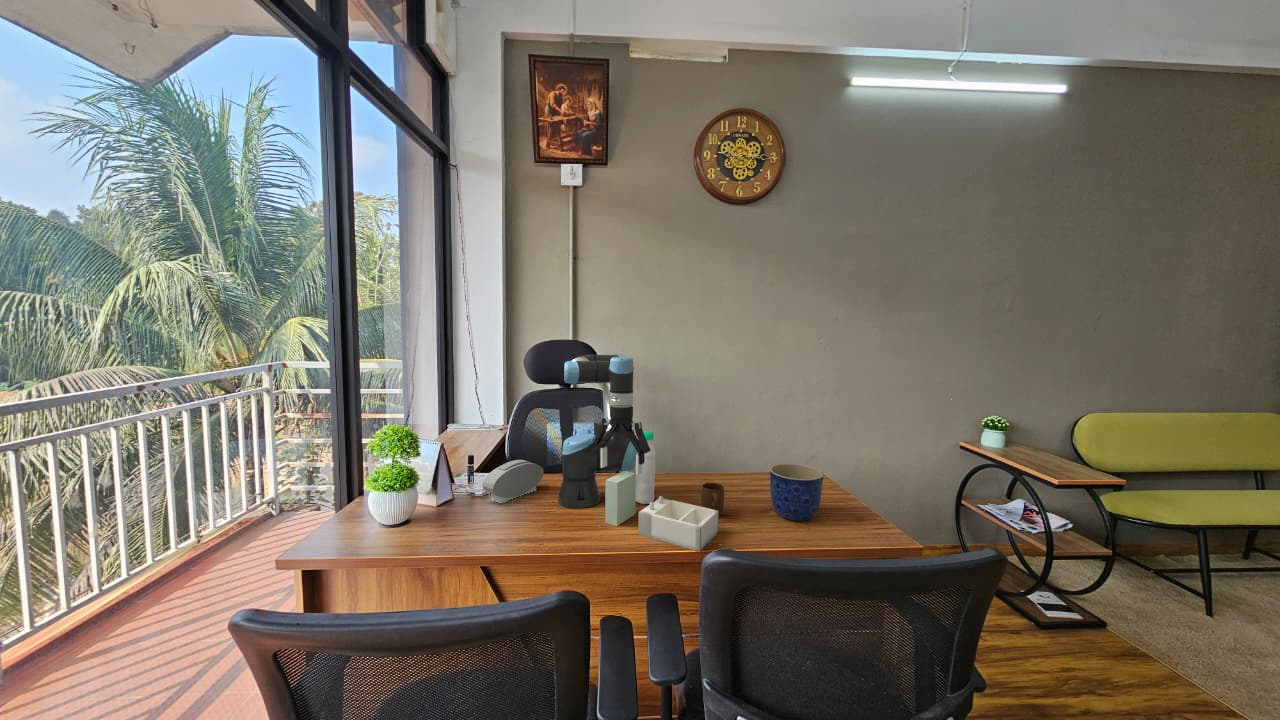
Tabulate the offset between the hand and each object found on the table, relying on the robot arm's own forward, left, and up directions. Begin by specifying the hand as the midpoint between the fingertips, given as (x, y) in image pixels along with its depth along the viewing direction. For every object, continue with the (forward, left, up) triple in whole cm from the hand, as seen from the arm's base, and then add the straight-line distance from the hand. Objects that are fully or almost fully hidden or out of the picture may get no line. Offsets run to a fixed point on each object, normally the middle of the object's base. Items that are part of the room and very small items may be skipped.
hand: (621, 470), depth 153 cm
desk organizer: (+21, 0, -16) cm, 26 cm away
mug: (+25, +18, -16) cm, 35 cm away
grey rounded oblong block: (-44, -4, -16) cm, 47 cm away
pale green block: (0, 0, -16) cm, 16 cm away
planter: (+48, +33, -16) cm, 60 cm away
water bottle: (-1, +17, -16) cm, 24 cm away
